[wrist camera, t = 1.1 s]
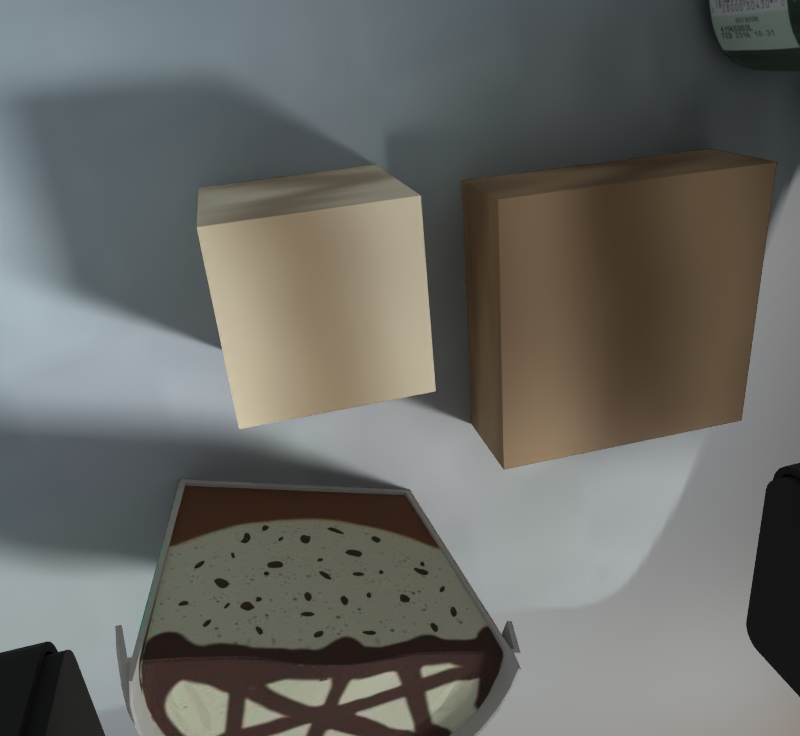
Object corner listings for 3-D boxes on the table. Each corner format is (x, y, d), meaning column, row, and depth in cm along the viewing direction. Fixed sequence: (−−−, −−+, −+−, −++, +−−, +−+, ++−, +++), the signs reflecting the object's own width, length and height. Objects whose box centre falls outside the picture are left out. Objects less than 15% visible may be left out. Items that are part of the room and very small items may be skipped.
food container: (128, 606, 30) (94, 845, 21) (138, 477, 28) (106, 682, 19) (413, 605, 33) (488, 809, 24) (442, 491, 31) (536, 668, 22)
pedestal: (704, 147, 28) (776, 162, 25) (682, 379, 32) (741, 420, 29) (458, 178, 26) (498, 199, 23) (469, 420, 30) (503, 469, 27)
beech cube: (375, 163, 25) (420, 195, 20) (391, 324, 28) (435, 391, 22) (198, 187, 24) (196, 227, 19) (232, 352, 27) (239, 429, 21)
